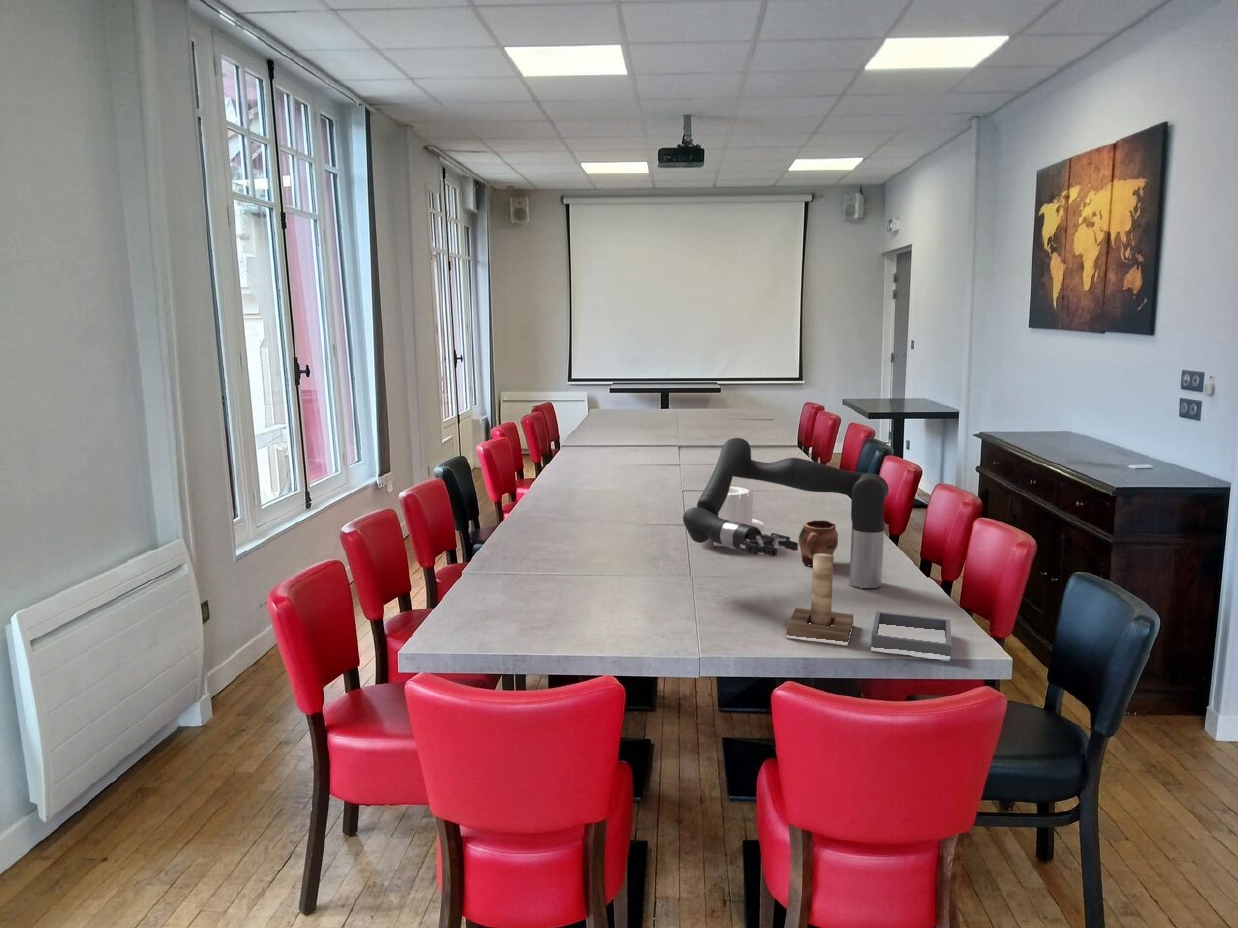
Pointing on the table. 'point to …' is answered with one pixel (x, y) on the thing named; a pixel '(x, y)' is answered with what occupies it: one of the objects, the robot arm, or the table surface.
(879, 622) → the slate grey tray
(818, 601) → the beech dowel
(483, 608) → the table surface
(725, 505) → the lamp base
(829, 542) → the decorative planter
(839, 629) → the walnut socket block
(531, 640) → the table surface
